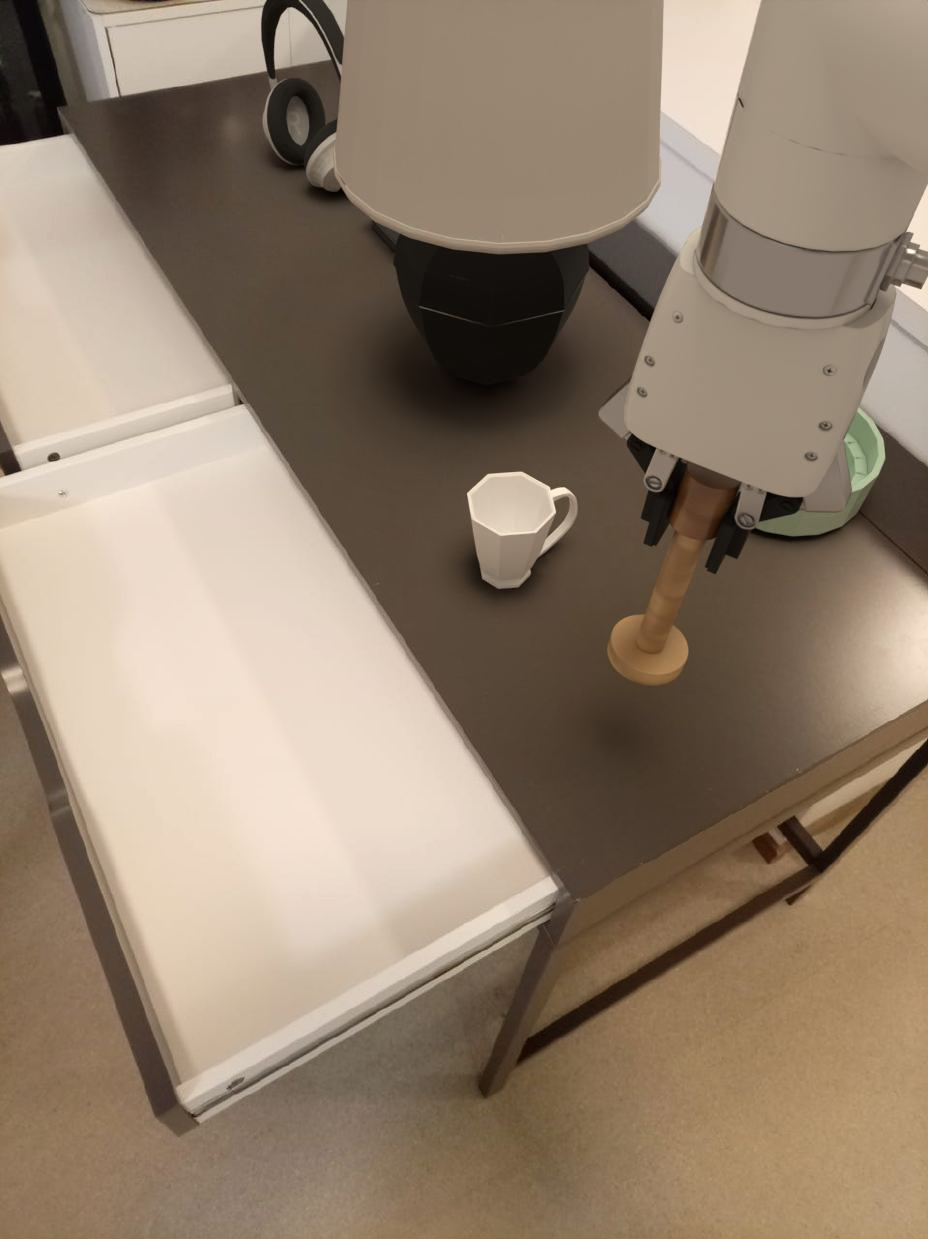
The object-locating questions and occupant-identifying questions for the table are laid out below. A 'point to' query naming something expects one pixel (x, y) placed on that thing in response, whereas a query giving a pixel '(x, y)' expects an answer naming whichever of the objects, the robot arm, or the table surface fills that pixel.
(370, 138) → the table lamp
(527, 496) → the cup
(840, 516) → the bowl
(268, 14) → the headphones
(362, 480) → the table surface
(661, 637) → the brown long flanged bar
